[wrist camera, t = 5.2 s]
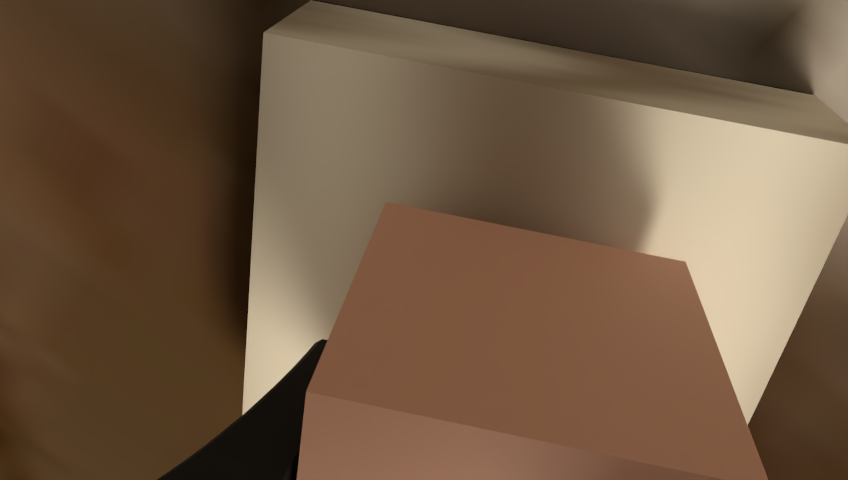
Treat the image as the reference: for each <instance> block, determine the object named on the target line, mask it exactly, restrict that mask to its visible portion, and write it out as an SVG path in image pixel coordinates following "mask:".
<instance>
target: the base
mask: <svg viewBox="0 0 848 480" xmlns="http://www.w3.org/2000/svg"><path fill="white" fill-rule="evenodd" d="M386 202H389V203H394V204H399V205H404V206H409V207H414V208H419V209H424V210H429V211H434V212H439V213H444V214H449V215H454V216H459V217H464V218H469V219H474V220H479V221H484V222H490V223H495V224H500V225H505V226H510V227H515V228H520V229H525V230H530V231H535V232H540V233H545V234H550V235H555V236H560V237H565V238H570V239H575V240H580V241H585V242H590V243H595V244H600V245H605V246H610V247H615V248H620V249H625V250H630V251H635V252H640V253H645V254H650V255H655V256H660V257H665V258H670V259H675V260H680V261H685V262H686V264H687V267H688V269H689V272H690V275H691V277H692V280H693V283H694V285H695V288H696V290H697V293H698V296H699V298H700V301H701V304H702V306H703V309H704V312H705V314H706V317H707V320H708V322H709V325H710V328H711V330H712V333H713V335H714V338H715V341H716V343H717V346H718V349H719V351H720V354H721V357H722V359H723V362H724V365H725V367H726V370H727V372H728V375H729V378H730V380H731V383H732V386H733V388H734V391H735V394H736V396H737V399H738V402H739V404H740V407H741V410H742V412H743V415H744V417H745V420H746V423H747V425H748V423H749V421H750V419H751V417H752V415H753V413H754V411H755V409H756V406H757V404H758V402H759V400H760V398H761V396H762V394H763V392H764V390H765V387H766V385H767V383H768V381H769V379H770V377H771V375H772V373H773V371H774V369H775V366H776V364H777V362H778V360H779V358H780V356H781V354H782V352H783V350H784V347H785V345H786V343H787V341H788V339H789V337H790V335H791V333H792V331H793V329H794V326H795V324H796V322H797V320H798V318H799V316H800V314H801V312H802V310H803V307H804V305H805V303H806V301H807V299H808V297H809V295H810V293H811V291H812V289H813V286H814V284H815V282H816V280H817V278H818V276H819V274H820V272H821V270H822V267H823V265H824V263H825V261H826V259H827V257H828V255H829V253H830V251H831V249H832V246H833V244H834V242H835V240H836V238H837V236H838V234H839V232H840V230H841V227H842V225H843V223H844V221H845V219H846V217H847V215H848V123H847V122H845V121H844V120H843V119H842V118H841V117H840V116H839V115H837V114H836V113H835V112H834V111H833V110H832V109H830V108H829V107H828V106H827V105H826V104H825V103H824V102H822V101H821V100H820V99H819V98H818V97H817V96H815V95H810V94H805V93H800V92H794V91H789V90H784V89H778V88H773V87H768V86H762V85H757V84H752V83H747V82H741V81H736V80H731V79H725V78H720V77H715V76H709V75H704V74H699V73H694V72H688V71H683V70H678V69H672V68H667V67H662V66H657V65H651V64H646V63H641V62H635V61H630V60H625V59H619V58H614V57H609V56H604V55H598V54H593V53H588V52H582V51H577V50H572V49H566V48H561V47H556V46H551V45H545V44H540V43H535V42H529V41H524V40H519V39H513V38H508V37H503V36H498V35H492V34H487V33H482V32H476V31H471V30H466V29H461V28H455V27H450V26H445V25H439V24H434V23H429V22H423V21H418V20H413V19H408V18H402V17H397V16H392V15H386V14H381V13H376V12H370V11H365V10H360V9H355V8H349V7H344V6H339V5H333V4H328V3H323V2H318V1H312V0H311V1H309V2H308V3H306V4H305V5H303V6H302V7H300V8H299V9H297V10H296V11H294V12H293V13H291V14H290V15H289V16H287V17H286V18H284V19H283V20H281V21H280V22H278V23H277V24H275V25H274V26H272V27H271V28H269V29H268V30H266V31H265V32H264V33H263V49H262V67H261V85H260V103H259V122H258V140H257V158H256V176H255V195H254V213H253V231H252V249H251V268H250V286H249V304H248V322H247V340H246V359H245V377H244V395H243V413H242V415H243V414H244V413H246V412H247V411H248V410H249V409H250V408H251V407H252V406H253V405H254V404H256V403H257V402H258V401H259V400H260V399H261V398H262V397H263V396H264V395H265V394H266V393H267V392H269V391H270V390H271V389H272V388H273V387H274V386H275V385H276V384H277V383H278V382H279V381H280V380H281V379H282V378H283V377H284V376H285V375H286V374H287V373H288V372H289V371H290V370H291V369H292V368H293V367H294V366H295V365H296V364H297V363H298V362H299V361H300V359H301V358H302V357H303V356H304V355H305V354H306V353H307V352H308V351H309V349H310V348H311V347H312V346H313V345H314V343H316V342H318V341H319V340H321V339H325V340H328V338H329V336H330V333H331V331H332V329H333V326H334V324H335V322H336V319H337V317H338V314H339V312H340V310H341V307H342V305H343V303H344V300H345V298H346V295H347V293H348V291H349V288H350V286H351V284H352V281H353V279H354V276H355V274H356V272H357V269H358V267H359V265H360V262H361V260H362V257H363V255H364V253H365V250H366V248H367V245H368V243H369V241H370V238H371V236H372V234H373V231H374V229H375V226H376V224H377V222H378V219H379V217H380V215H381V212H382V210H383V207H384V205H385V203H386Z"/></svg>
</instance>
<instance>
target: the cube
mask: <svg viewBox="0 0 848 480" xmlns="http://www.w3.org/2000/svg"><path fill="white" fill-rule="evenodd" d="M297 480H768V478H767V476H766V473H765V470H764V468H763V465H762V462H761V460H760V457H759V455H758V452H757V449H756V447H755V444H754V441H753V439H752V436H751V433H750V431H749V428H748V425H747V423H746V420H745V417H744V415H743V412H742V410H741V407H740V404H739V402H738V399H737V396H736V394H735V391H734V388H733V386H732V383H731V380H730V378H729V375H728V372H727V370H726V367H725V365H724V362H723V359H722V357H721V354H720V351H719V349H718V346H717V343H716V341H715V338H714V335H713V333H712V330H711V328H710V325H709V322H708V320H707V317H706V314H705V312H704V309H703V306H702V304H701V301H700V298H699V296H698V293H697V290H696V288H695V285H694V283H693V280H692V277H691V275H690V272H689V269H688V267H687V264H686V262H685V261H680V260H675V259H670V258H665V257H660V256H655V255H650V254H645V253H640V252H635V251H630V250H625V249H620V248H615V247H610V246H605V245H600V244H595V243H590V242H585V241H580V240H575V239H570V238H565V237H560V236H555V235H550V234H545V233H540V232H535V231H530V230H525V229H520V228H515V227H510V226H505V225H500V224H495V223H490V222H484V221H479V220H474V219H469V218H464V217H459V216H454V215H449V214H444V213H439V212H434V211H429V210H424V209H419V208H414V207H409V206H404V205H399V204H394V203H389V202H386V203H385V205H384V207H383V210H382V212H381V215H380V217H379V219H378V222H377V224H376V226H375V229H374V231H373V234H372V236H371V238H370V241H369V243H368V245H367V248H366V250H365V253H364V255H363V257H362V260H361V262H360V265H359V267H358V269H357V272H356V274H355V276H354V279H353V281H352V284H351V286H350V288H349V291H348V293H347V295H346V298H345V300H344V303H343V305H342V307H341V310H340V312H339V314H338V317H337V319H336V322H335V324H334V326H333V329H332V331H331V333H330V336H329V338H328V341H327V343H326V345H325V348H324V350H323V352H322V355H321V357H320V360H319V362H318V364H317V367H316V369H315V372H314V374H313V376H312V379H311V381H310V383H309V386H308V388H307V391H306V397H305V406H304V416H303V425H302V434H301V443H300V453H299V462H298V471H297Z"/></svg>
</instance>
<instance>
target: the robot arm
mask: <svg viewBox="0 0 848 480" xmlns="http://www.w3.org/2000/svg"><path fill="white" fill-rule="evenodd" d="M327 341H328V340H325V339H321V340H319V341H318V342H316V343H314V345H313V346H312V347H311V348H310V349H309V351H308V352H307V353H306V354H305V355H304V356H303V357H302V358H301V359H300V361H299V362H298V363H297V364H296V365H295V366H294V367H293V368H292V369H291V370H290V371H289V372H288V373H287V374H286V375H285V376H284V377H283V378H282V379H281V380H280V381H279V382H278V383H277V384H276V385H275V386H274V387H273V388H272V389H271V390H270V391H269V392H267V393H266V394H265V395H264V396H263V397H262V398H261V399H260V400H259V401H258V402H257V403H256V404H254V405H253V406H252V407H251V408H250V409H249V410H248V411H247V412H246V413H244V414H243V415H242V416H241V417H240V418H239V419H237V420H236V421H235V422H234V423H232V424H231V425H230V426H229V427H228V428H226V429H225V430H224V431H223V432H221V433H220V434H219V435H218V436H216V437H215V438H214V439H213V440H212V441H210V442H209V443H208V444H207V445H205V446H204V447H203V448H201V449H200V450H199V451H197V452H196V453H195V454H193V455H192V456H191V457H189V458H188V459H186V460H185V461H184V462H182V463H181V464H179V465H178V466H176V467H175V468H173V469H172V470H171V471H169V472H168V473H166V474H165V475H163V476H162V477H160V478H159V479H157V480H297V471H298V462H299V453H300V443H301V434H302V425H303V416H304V406H305V397H306V391H307V388H308V386H309V383H310V381H311V379H312V376H313V374H314V372H315V369H316V367H317V364H318V362H319V360H320V357H321V355H322V352H323V350H324V348H325V345H326V343H327Z"/></svg>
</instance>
